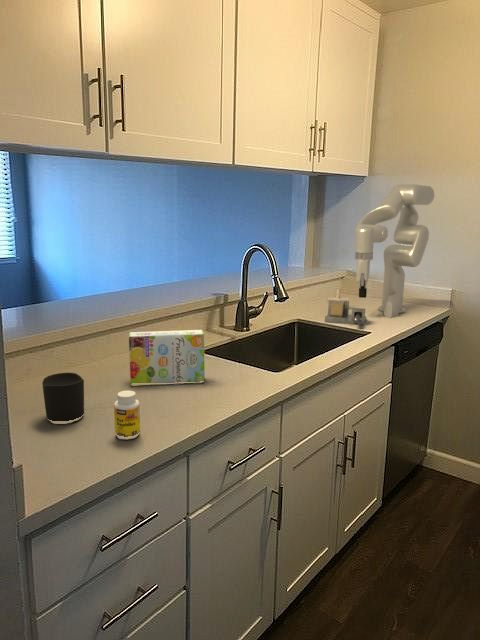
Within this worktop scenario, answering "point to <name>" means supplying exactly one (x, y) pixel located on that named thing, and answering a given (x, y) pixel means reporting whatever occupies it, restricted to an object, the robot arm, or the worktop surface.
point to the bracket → (345, 315)
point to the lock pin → (357, 317)
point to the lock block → (337, 308)
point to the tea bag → (391, 306)
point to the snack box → (166, 356)
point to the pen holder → (63, 396)
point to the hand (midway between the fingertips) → (362, 297)
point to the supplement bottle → (127, 414)
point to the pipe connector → (338, 297)
